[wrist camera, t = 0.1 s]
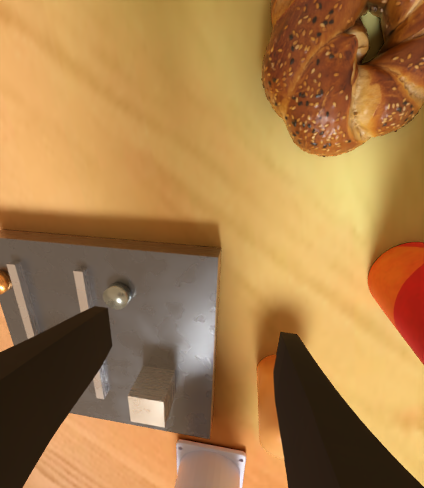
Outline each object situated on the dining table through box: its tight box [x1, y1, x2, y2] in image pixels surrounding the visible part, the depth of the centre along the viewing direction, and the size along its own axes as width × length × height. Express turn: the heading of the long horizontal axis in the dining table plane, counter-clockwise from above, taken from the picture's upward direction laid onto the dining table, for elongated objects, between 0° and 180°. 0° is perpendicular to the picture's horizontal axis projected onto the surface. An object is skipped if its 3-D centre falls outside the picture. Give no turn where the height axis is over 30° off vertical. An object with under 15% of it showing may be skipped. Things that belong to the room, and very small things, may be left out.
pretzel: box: [262, 0, 424, 157], centre depth 12 cm, size 12×11×4 cm
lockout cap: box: [257, 355, 284, 460], centre depth 20 cm, size 4×4×6 cm
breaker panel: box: [0, 230, 221, 439], centre depth 21 cm, size 20×20×5 cm
